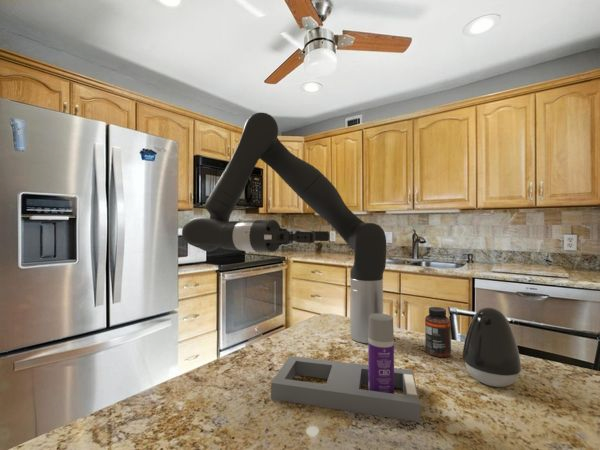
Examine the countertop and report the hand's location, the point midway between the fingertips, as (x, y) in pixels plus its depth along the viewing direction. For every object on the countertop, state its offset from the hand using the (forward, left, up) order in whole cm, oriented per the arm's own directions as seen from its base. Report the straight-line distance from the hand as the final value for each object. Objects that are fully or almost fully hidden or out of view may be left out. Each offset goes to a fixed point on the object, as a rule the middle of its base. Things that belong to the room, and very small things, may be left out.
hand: (322, 236), depth 63 cm
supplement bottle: (-20, +26, -30) cm, 45 cm away
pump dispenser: (-8, +34, -30) cm, 46 cm away
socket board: (+4, +5, -30) cm, 31 cm away
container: (+3, +12, -30) cm, 33 cm away
